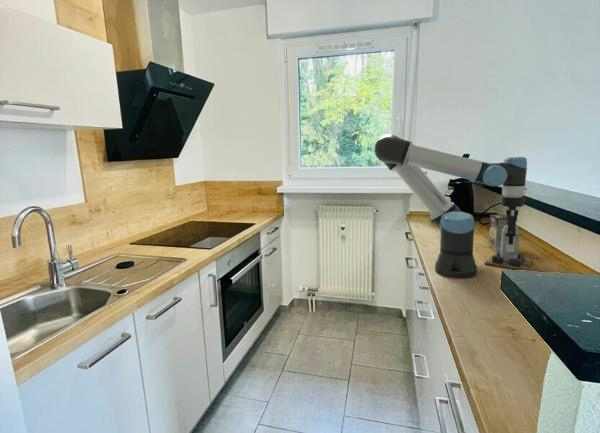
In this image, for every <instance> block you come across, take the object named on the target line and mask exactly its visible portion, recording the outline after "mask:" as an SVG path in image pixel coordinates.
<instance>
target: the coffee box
mask: <svg viewBox="0 0 600 433" xmlns="http://www.w3.org/2000/svg"><path fill="white" fill-rule="evenodd" d="M505 225H507V215H506V214H490V215H489V234H488V247H489V248H490V249H491V250H493V252H496V253H497V252H498V251H501V238H502V229H503V228H504V226H505Z"/></svg>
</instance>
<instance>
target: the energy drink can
mask: <svg viewBox="0 0 600 433" xmlns="http://www.w3.org/2000/svg"><path fill="white" fill-rule="evenodd" d="M520 232H521V231H520V229H519V226H518V225H516V233H515V234H516V236H515V247H514V252H506V242H507V236H505V234H507V233H508V225H505V226H504V228H503V229H502V238H501V253H500V257H503V262H505V263H509V259H515V260H518V254H519V247H520ZM510 233H513V232H510Z"/></svg>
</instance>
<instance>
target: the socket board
mask: <svg viewBox="0 0 600 433" xmlns="http://www.w3.org/2000/svg"><path fill="white" fill-rule="evenodd" d="M500 253H501V251H498V252H496V253H494V254H493V255H492V256H491V257H490V258H488V259H487V260H486V261H484V263H483V264H484V266H489V267H493V268H494V267H495V268H499V269H503V270H509V269H511V270H510V271H515V270H526V271H527V270H528V269H529V267H530V266H531V265H532V264H533V261H534V260H533V259H529V258H528V259H527V258H526V255H527V254H522V253H518V260H515V259H509V263H505V262H503V257H500Z"/></svg>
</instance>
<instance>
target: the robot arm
mask: <svg viewBox="0 0 600 433" xmlns="http://www.w3.org/2000/svg"><path fill="white" fill-rule="evenodd" d="M374 154H375V156H376V158H377V159H378V160H379V161H380V162H381V163H384V165H385V166H386V167H387V169H388V170H389V171H391V172H396V173H397V175H398V176H399V177H400V178H401V179H402V181H403V183H405V184H406V185H407V186H408V188H409V189H410V190H411V192H412V193H413V194H414V195H415V196H416V198H417V199H418V200H419V201H420V203H421V204H422V205H423V206H424V207H425V209H427V210H428V212H429V213H430V218H429V219H430V220H431V221H432V223H433V224H434V226H436V228H437V229H438V230H439V232H440V233H439V234H440V241H439V242H440V246H439V247H440V248H439V250H440V252H439V254H438V257H437V261H436V262H435V265H434V266H435V267H434V270H435V272H436V273H437V274H439V275H440V276H444V277H448V278H453V279H470V278H471V279H472V278H474V277H476V276H477V274H478V266H477V265H476V262H475V261H476V260H475V258H474V235H475V233H474V232H475V223H476V222H475V218H474V216H473V215H472V214H470V213H467V212H464V211H461V209H460V208H459V207H458V206H457V204H455V202H453V201H448V200H447V199H446V197H445V196H444V195H443V194H442V193H441V191H440V190H439V189H438V188H437V187H436V185H435V184H434V183H433V182H432V181H431V179H430V178H429V177H428V176H427V175H426V173H425V172H424V171H423V170H422V169H427V170H429V171H433V172H438V173H442V174H444V175H445V174H446V175H449V176H454V177H457V178H460V179H465V180H469V181H470V182H471V183H478V184H479V183H480V184H483V185H487V186H490V187H498V186H501V185H502V186H501V188H502V189H501V195H502V196H501V206H503V207H507V209H506V210H505V211H506V212H505V215H506V216H507V225H508V233H507V234H505V236H507V242H506V252H514V247H515V236H516V234H515V233H516V226H517V221H518V216H519V210H518V209H517V208H521V207H524V206H525V197H524V196H525V193H526V192H525V191H527V190H528V188H527V187H526V180H527V172H528V171H527V170H528V159H527V158H526V157H525V156H510V157H504V160H503V162H495V163H494V162H493V163H489V162H485V161H481V160H476V159H472V158H468V157H464V156H460V155H456V154H452V153H448V152H443V151H439V150H435V149H432V148H427V147H423V146H418V145H416V144H415V145H414V144H413V142H412V141H409V140H406V139H403V138H401V137H399V136H397V135H394V134H386V135H383V136H381V137H379V139H378V140H377V141H376V142H375V144H374ZM421 168H422V169H421ZM510 232H513V233H510Z"/></svg>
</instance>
